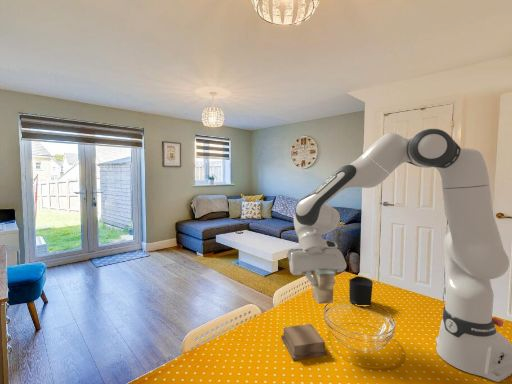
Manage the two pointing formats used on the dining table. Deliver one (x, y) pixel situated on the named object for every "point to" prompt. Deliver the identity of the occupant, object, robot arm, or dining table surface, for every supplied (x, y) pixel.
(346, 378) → the dining table surface
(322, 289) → the grey rectangular block
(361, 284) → the pen holder
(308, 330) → the plinth
